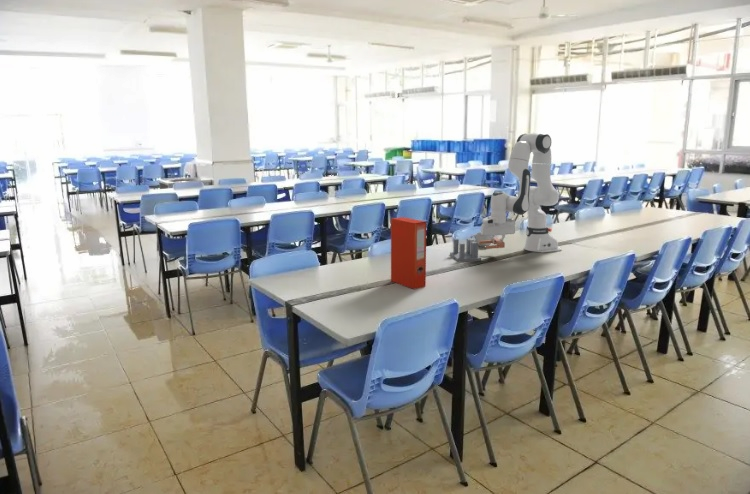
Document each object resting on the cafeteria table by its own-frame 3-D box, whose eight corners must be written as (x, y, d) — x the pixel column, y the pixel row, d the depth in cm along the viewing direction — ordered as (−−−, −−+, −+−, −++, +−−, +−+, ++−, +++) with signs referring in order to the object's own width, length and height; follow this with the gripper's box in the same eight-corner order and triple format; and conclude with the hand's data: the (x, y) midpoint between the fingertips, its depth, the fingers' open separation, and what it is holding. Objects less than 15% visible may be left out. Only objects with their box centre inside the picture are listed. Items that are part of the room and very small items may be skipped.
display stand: (472, 253, 319) (472, 236, 316) (481, 260, 302) (481, 242, 300) (450, 254, 317) (450, 237, 314) (457, 261, 300) (458, 243, 298)
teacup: (490, 244, 344) (491, 232, 343) (492, 247, 334) (493, 235, 332) (469, 244, 346) (469, 232, 344) (470, 247, 335) (470, 235, 333)
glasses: (496, 242, 318) (496, 237, 317) (504, 247, 304) (504, 242, 303) (478, 243, 316) (478, 238, 316) (486, 248, 303) (486, 243, 302)
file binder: (403, 278, 268) (403, 216, 261) (425, 286, 254) (426, 221, 247) (391, 281, 263) (390, 218, 256) (413, 289, 250) (413, 223, 243)
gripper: (513, 217, 311) (512, 239, 314) (479, 219, 309) (479, 242, 312) (517, 219, 305) (516, 242, 308) (483, 221, 303) (483, 244, 306)
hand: (497, 242), depth 310 cm, fingers closed on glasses, 3 cm apart
